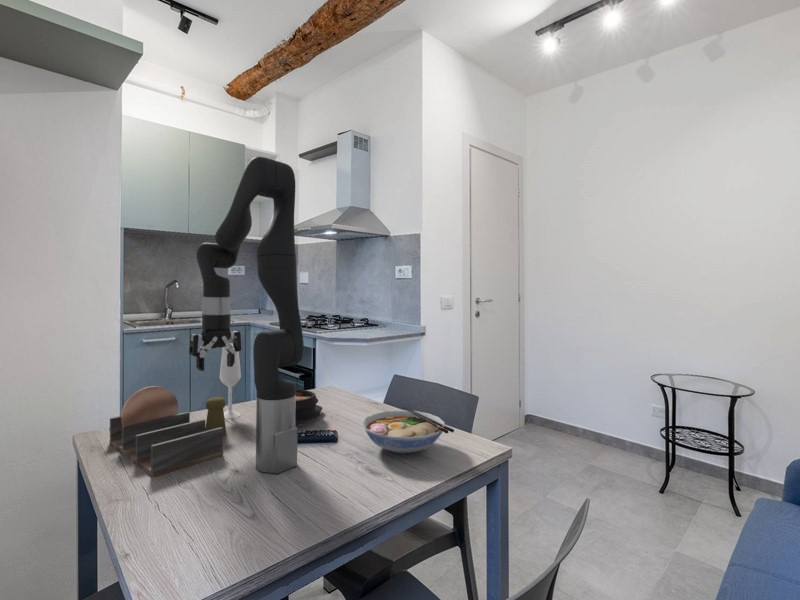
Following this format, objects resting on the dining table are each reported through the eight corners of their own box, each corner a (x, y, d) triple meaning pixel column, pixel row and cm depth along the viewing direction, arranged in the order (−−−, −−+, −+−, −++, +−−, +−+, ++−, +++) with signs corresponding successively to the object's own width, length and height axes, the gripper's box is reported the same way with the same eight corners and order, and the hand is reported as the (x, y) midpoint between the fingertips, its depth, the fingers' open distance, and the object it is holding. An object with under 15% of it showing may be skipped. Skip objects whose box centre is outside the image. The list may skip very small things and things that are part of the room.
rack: (223, 454, 105) (223, 397, 105) (153, 477, 93) (153, 411, 92) (173, 427, 124) (173, 379, 124) (109, 443, 111) (109, 388, 111)
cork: (220, 439, 116) (221, 400, 116) (199, 438, 116) (200, 400, 116) (230, 431, 122) (230, 395, 122) (210, 431, 122) (210, 394, 122)
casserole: (289, 406, 149) (290, 383, 148) (335, 413, 143) (335, 389, 142) (242, 428, 125) (242, 401, 125) (294, 437, 119) (294, 408, 119)
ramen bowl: (347, 439, 118) (348, 411, 118) (416, 428, 128) (417, 402, 128) (384, 475, 96) (385, 441, 96) (464, 459, 106) (464, 427, 106)
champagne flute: (240, 411, 142) (241, 342, 141) (240, 417, 135) (241, 345, 135) (219, 413, 139) (219, 343, 138) (218, 419, 133) (219, 346, 132)
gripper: (197, 314, 110) (197, 374, 111) (246, 312, 121) (245, 366, 122) (185, 312, 115) (184, 370, 115) (233, 311, 126) (232, 363, 126)
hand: (216, 368), depth 118 cm, fingers open, 8 cm apart
